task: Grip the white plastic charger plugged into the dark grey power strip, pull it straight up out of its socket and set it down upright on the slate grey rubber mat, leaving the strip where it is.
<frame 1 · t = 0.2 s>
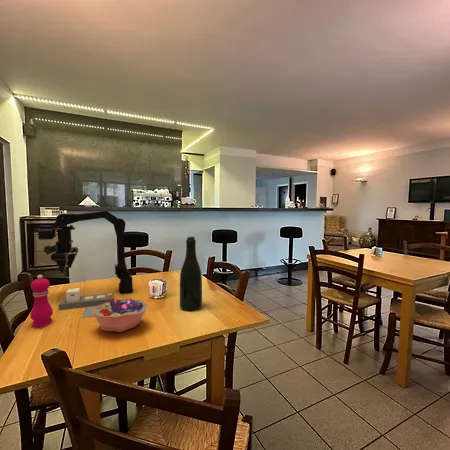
hand: (66, 270, 129), 14 cm above the table, tool pointing down, fingers open, 9 cm apart
pepper mill: (42, 325, 103), on the table
power strip: (88, 305, 123), on the table
dark green wine bottle: (190, 307, 122), on the table
charger: (74, 304, 121), resting in power strip
mat: (97, 312, 115), on the table
cell model: (121, 328, 101), on the table
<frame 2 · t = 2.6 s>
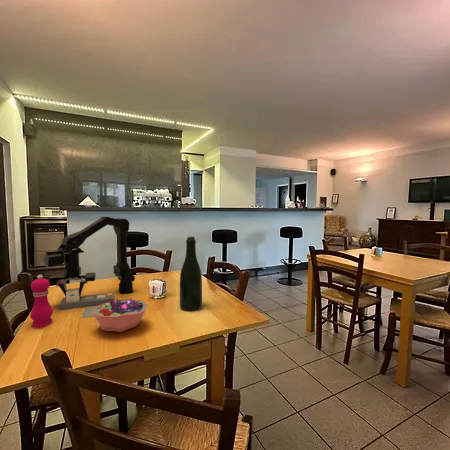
hand: (73, 296, 121), 4 cm above the table, tool pointing down, fingers closed on charger, 5 cm apart
charger: (73, 304, 121), point 1 cm above the table, touching gripper
everything else where it was.
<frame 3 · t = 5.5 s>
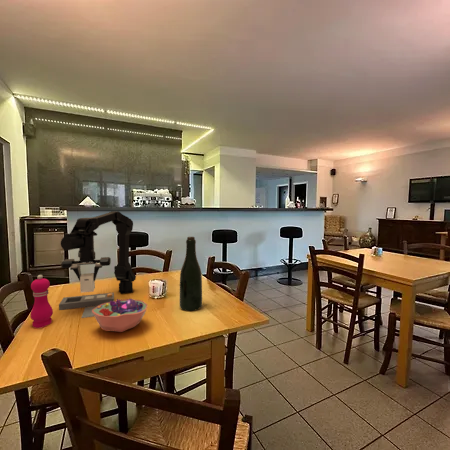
hand: (87, 281, 116), 13 cm above the table, tool pointing down, fingers closed on charger, 5 cm apart
charger: (87, 290, 116), point 9 cm above the table, touching gripper
everything else where it was.
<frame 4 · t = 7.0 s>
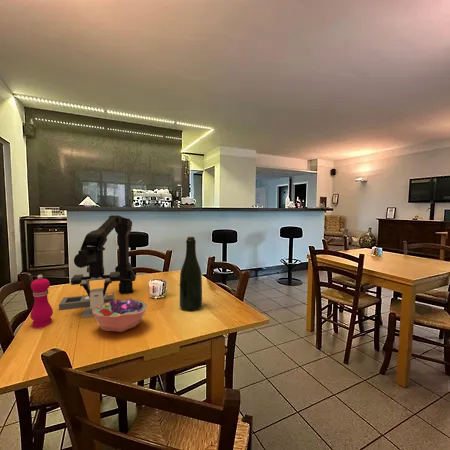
hand: (97, 297, 114), 7 cm above the table, tool pointing down, fingers closed on charger, 5 cm apart
charger: (97, 305, 115), point 3 cm above the table, touching gripper
everything else where it was.
when the fingers open (5 cm above the table, at t = 8.1 s): charger stays where it is, resting on mat.
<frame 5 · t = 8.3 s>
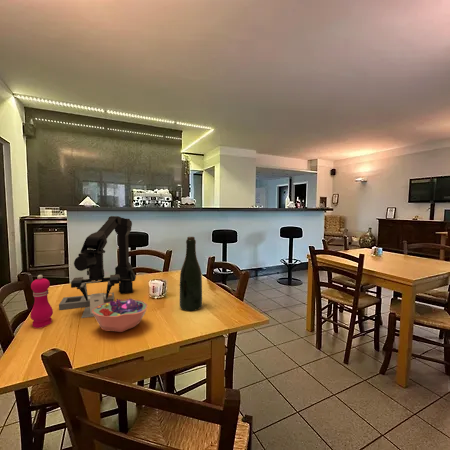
hand: (97, 299, 114), 5 cm above the table, tool pointing down, fingers open, 7 cm apart
charger: (97, 310, 115), point 1 cm above the table, touching mat
everything else where it was.
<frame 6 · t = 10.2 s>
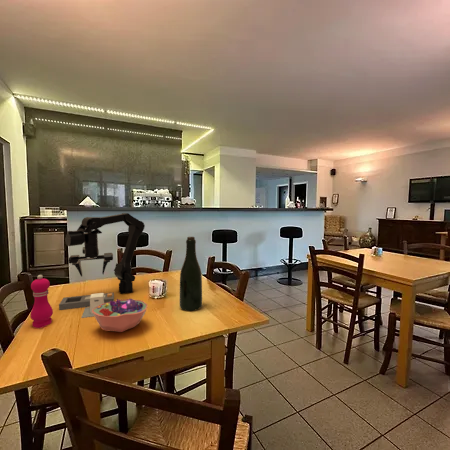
hand: (92, 275, 126), 13 cm above the table, tool pointing down, fingers open, 9 cm apart
nothing on the table moved.
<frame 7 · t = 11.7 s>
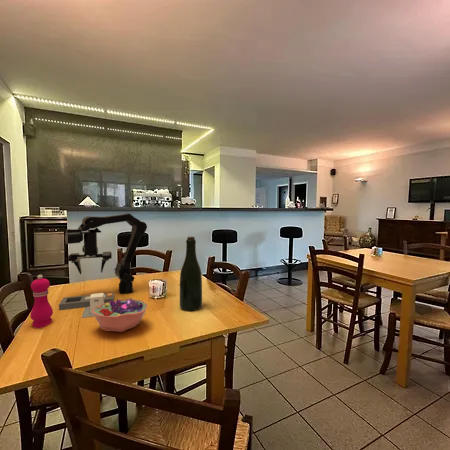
hand: (91, 273, 129), 13 cm above the table, tool pointing down, fingers open, 9 cm apart
nothing on the table moved.
at the end: charger inside the target area (0.1 cm from its centre), point 0.6 cm above the table; charger tilted 0°; power strip moved 0.5 cm from its start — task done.
